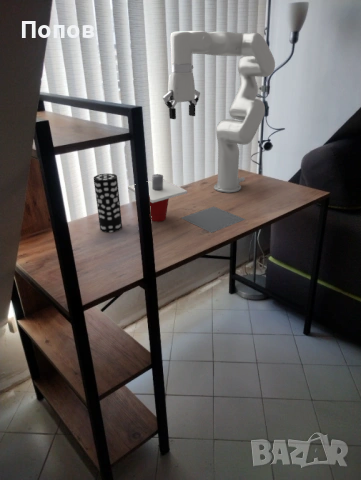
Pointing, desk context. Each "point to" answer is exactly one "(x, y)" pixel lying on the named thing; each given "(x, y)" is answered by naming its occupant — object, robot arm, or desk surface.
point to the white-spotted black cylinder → (108, 202)
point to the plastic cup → (159, 210)
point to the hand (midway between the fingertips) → (182, 117)
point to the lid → (161, 189)
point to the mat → (212, 219)
